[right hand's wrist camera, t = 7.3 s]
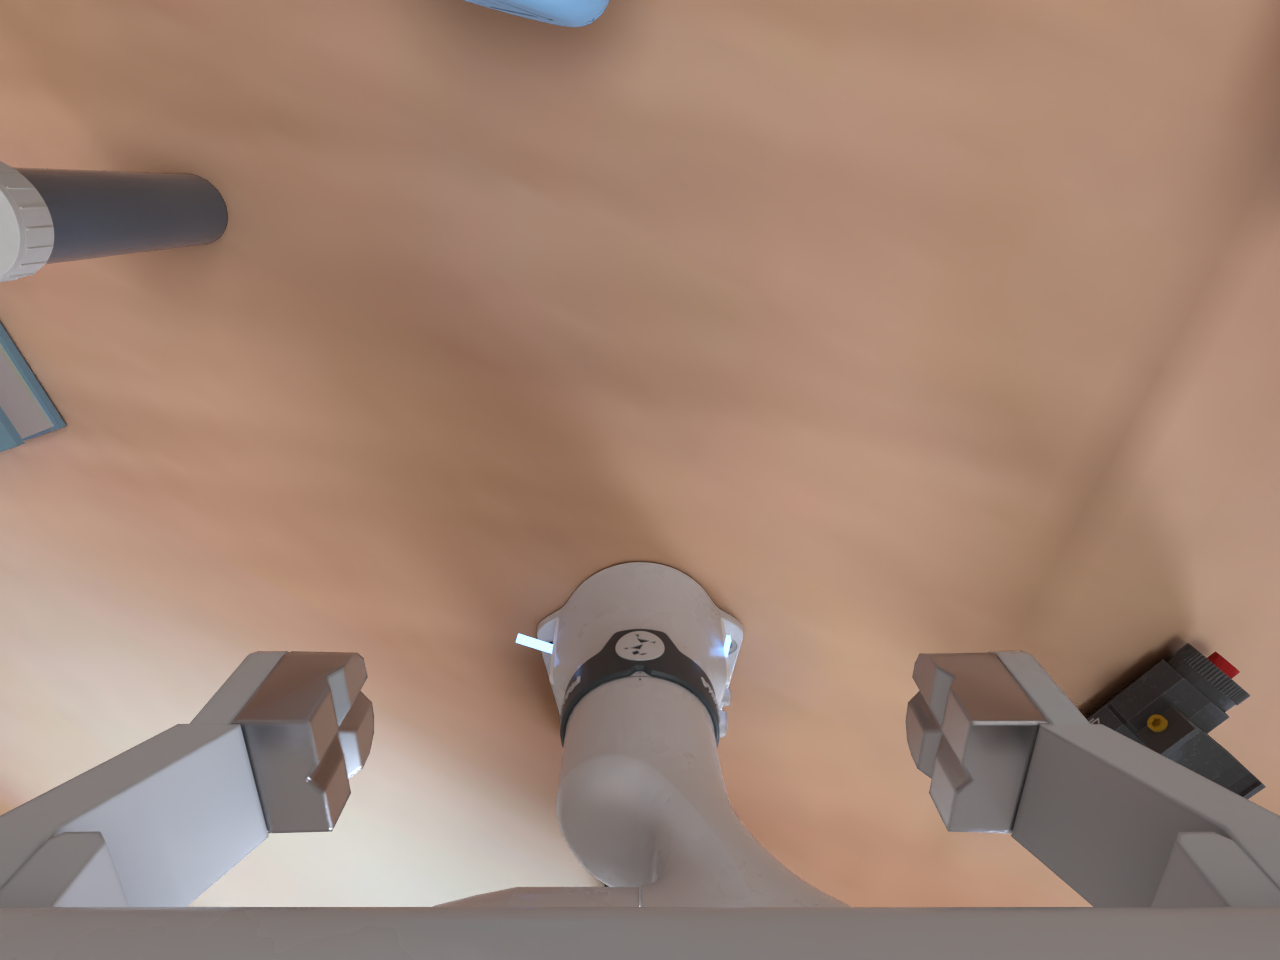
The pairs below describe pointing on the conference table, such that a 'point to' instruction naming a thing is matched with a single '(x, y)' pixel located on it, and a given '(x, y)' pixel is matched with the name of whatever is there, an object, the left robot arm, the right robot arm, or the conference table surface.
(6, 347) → the book
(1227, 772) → the laser sight
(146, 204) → the dark grey cylinder
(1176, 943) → the right robot arm
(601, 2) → the left robot arm
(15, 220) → the lid
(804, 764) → the conference table surface
